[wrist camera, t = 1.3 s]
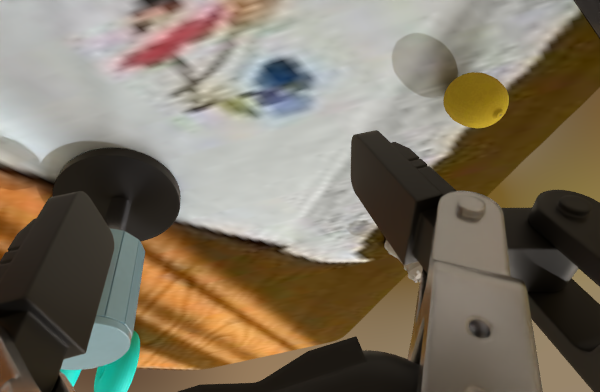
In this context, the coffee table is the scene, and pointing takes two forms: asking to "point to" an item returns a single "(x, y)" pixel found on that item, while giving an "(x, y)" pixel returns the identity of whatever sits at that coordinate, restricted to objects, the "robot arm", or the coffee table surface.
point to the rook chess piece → (412, 268)
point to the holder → (124, 189)
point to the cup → (114, 306)
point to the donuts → (113, 371)
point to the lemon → (476, 100)
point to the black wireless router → (591, 12)
